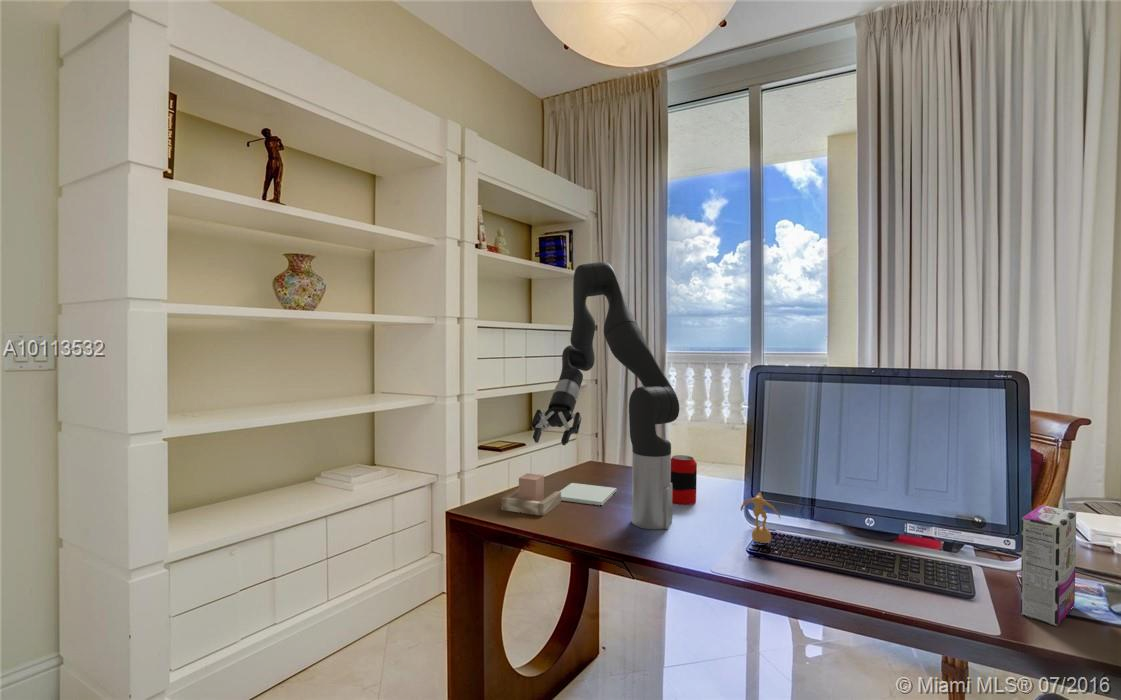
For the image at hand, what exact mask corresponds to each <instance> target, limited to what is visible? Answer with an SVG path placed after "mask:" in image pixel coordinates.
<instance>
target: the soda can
mask: <svg viewBox="0 0 1121 700" xmlns="http://www.w3.org/2000/svg"><path fill="white" fill-rule="evenodd" d="M697 467H698V466H697V461H696V460H695V458H694V457H692V456H690V455H683V454H677V455H676V454H675V455H671V483H672V504H676V505H681V504H683V505H684V506H685V505H686V506H687V504H688V505H694V504H695V503H696V502H697V472H698V471H697V469H698V468H697Z"/></svg>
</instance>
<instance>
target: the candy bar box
mask: <svg viewBox="0 0 1121 700" xmlns="http://www.w3.org/2000/svg"><path fill="white" fill-rule="evenodd" d="M1076 534H1077V511H1073V510H1069V509H1064V508H1059V507H1053V506H1051V505H1042V504H1041V505H1038V507H1036V508H1035V509H1033V510H1032V511H1030V512H1029V513H1027V514H1026V515H1024V516H1023V517H1021V550H1020V551H1021V553H1020V555H1021V565H1020V566H1021V574H1020V576H1021V577H1020V580H1021V581H1020V583H1021V585H1020V615H1022V616H1024V615H1025V616H1024V617H1026V616H1027V618H1029V617H1030V618H1029V619H1032V618H1033V620H1035V619H1036V620H1035V621H1038V622H1042V623H1045V624H1048V625H1051V626H1055V627H1059V625H1061V623H1063V621H1064V620H1065V618H1066V617H1067V616H1068V614H1069V613H1070V612H1071V611H1072V610H1071V608H1072V607H1073V606H1074V604H1075V605H1076V602H1075V601H1076V600H1075V598H1076V590H1075V589H1076V548H1077V547H1076V546H1077V545H1076V541H1077V540H1076V539H1077V537H1076V536H1077V535H1076ZM1074 607H1075V606H1074ZM1074 607H1073V608H1074ZM1070 610H1071V611H1070ZM1069 611H1070V612H1069ZM1068 612H1069V613H1068ZM1066 615H1067V616H1066Z"/></svg>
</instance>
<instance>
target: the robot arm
mask: <svg viewBox="0 0 1121 700" xmlns="http://www.w3.org/2000/svg"><path fill="white" fill-rule="evenodd" d="M572 286H573V287H572V288H573V289H572V290H573V295H572V296H573V298H572V300H573V301H572V302H573V305H572V306H573V319H572V327H571V333H570V340H569V341H570V344H571V345H567V346H566V347H564V349H563V351H562V357H561V364H562V365H561V366H562V367H561V372H560V376H559V379H558V382H557V383H556V386H555V388H554V390H553V392H552V395H551V399H550V401H549V403H548V406H547V410H546V411H542V410H541V409H537V410H536V411H535V414H534V416H533V418H532V420H531V422H530V426H531V428H532V429H533V430H532V431H534V432H533V435H532V439H533V441H534V443H535V444H537V443H539V442H540V438H541V436H542V432H543V431H544V430H547V429H548V428H550V427H552V428H554V427H557V428H562V427H564V429H565V430H564V431H563V434H562V437H561V440H560V441H561V444H562V446H566V445H567V444H568V443H569V441H570V437H571V435H573V434H575V435H576V434H578V433H579V432H580V426H581V423H582V422H581V421H582V416H581V413H580V412H579V411H577V412H575V413H574V410H575V408H576V407H575V406H576V404H577V401H578V398H579V393H580V392H579V391H580V389H581V386H582V383H583V380H584V375H583V373H582V371H583V372H587V371H590V370H591V369H593V367H594V365H595V358H596V357H595V351H594V338H595V333H596V332H595V331H596V321H595V319H594V316H593V315H592V313H591V311H590V310H589V308H588V306H587V302H586V301H587V298H588V297H595V296H604V297H605V298H606V300H607V302H608V310H607V314H606V317H605V320H604V325H603V336H604V338H605V341H606V343H607V346H608V347H609V350H610V351H611V353H612V355H613V356H614V358H616V360H618V362H619V363H620V364H622V366H624V367H625V368H626V369H627V370H629V371H630V372H632V374H634V375H635V376H636V377H637V378H638V380H639V381H640V383H641V384H642V386H638V387H636V388H634V389H633V390H632V392H631V393H630V396H629V402H628V418H629V421H628V422H629V439H630V442H631V446H632V452H631V453H632V455H631V456H632V462H631V463H632V464H631V523H632V524H633V525H634V526H636V527H639V528H641V529H645V530H668V529H669V527H670V526H671V524H672V522H673V503H672V483H671V458H672V444H671V442H670V441H669V440H668V439H666V438H662V437H660V436H658V434H657V429H656V425H661V424H662V425H663V424H669V423H672V422H673V423H674V421H676V420H677V418H678V417H679V414H680V401H679V398H678V396H677V393H676V392H675V390H674V388H673V386H672V384H671V383H670V381H669V380H668V378H667V377H666V375H665V373H664V372H663V371H662V369H661V367H660V366H659V364H658V363H657V361H656V359H655V357H654V355H653V353H652V352H651V350H650V347H649V345H648V343H647V341H646V339H645V337H644V335H643V332H642V331H641V328H640V326H639V325H638V323H637V321H636V319H635V317H634V315H633V313H632V311H631V309H630V307H629V305H628V303H627V301H626V299H625V296H624V293H623V291H622V287H621V285H620V282H619V280H618V277H617V275H616V272H615V270H614V268H613V267H612V265H611V264H610V263H609V262H607V261H603V262H602V261H601V262H600V261H599V262H590V263H583V264H579V265H578V266H576V268H575V270H574V273H573V284H572ZM571 420H573V423H572V426H571V427H570V426H569V424H568V423H569V422H570V421H571Z"/></svg>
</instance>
